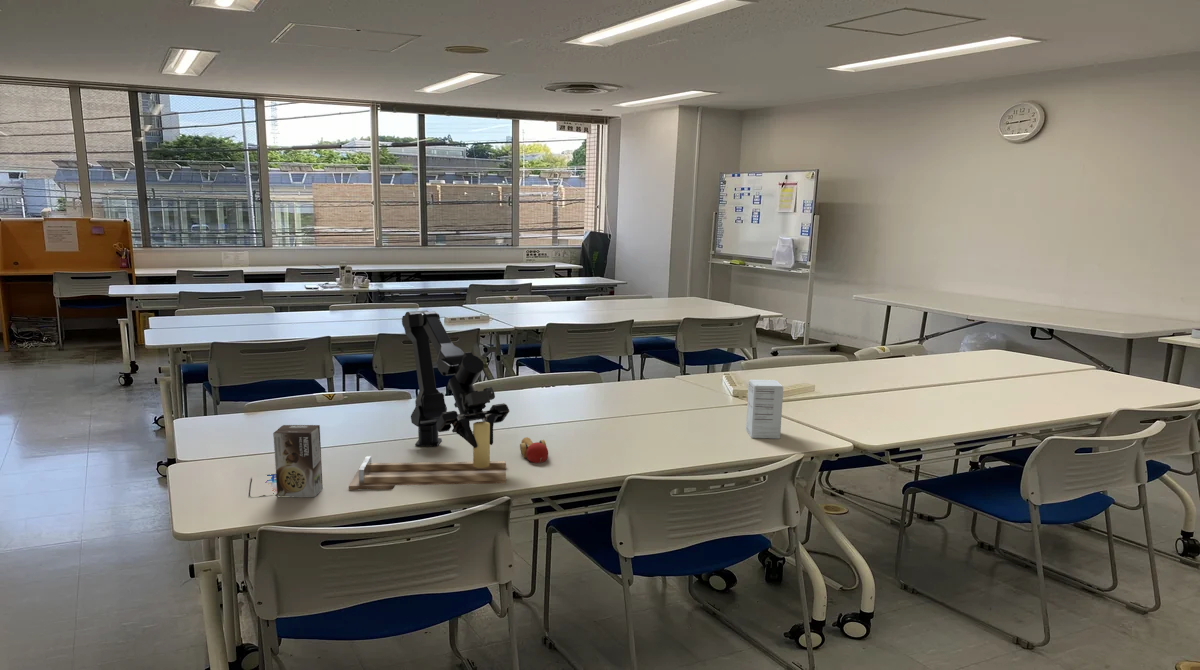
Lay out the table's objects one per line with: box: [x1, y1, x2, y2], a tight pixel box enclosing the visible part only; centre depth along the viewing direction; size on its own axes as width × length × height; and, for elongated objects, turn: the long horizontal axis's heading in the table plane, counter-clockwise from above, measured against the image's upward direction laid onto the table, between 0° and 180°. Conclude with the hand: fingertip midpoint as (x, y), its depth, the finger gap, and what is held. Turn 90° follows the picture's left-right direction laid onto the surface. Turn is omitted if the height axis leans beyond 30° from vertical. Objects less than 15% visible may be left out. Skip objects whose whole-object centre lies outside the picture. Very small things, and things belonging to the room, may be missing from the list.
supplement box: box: [745, 379, 784, 440], centre depth 237 cm, size 10×9×17 cm
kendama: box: [519, 437, 549, 464], centre depth 212 cm, size 8×6×18 cm
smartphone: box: [265, 473, 277, 494], centre depth 185 cm, size 8×1×15 cm
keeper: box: [472, 421, 491, 468], centre depth 193 cm, size 4×4×11 cm
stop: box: [358, 455, 372, 483], centre depth 191 cm, size 1×10×4 cm, turn 7°
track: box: [348, 460, 507, 491], centre depth 193 cm, size 38×14×2 cm, turn 97°
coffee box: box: [272, 424, 324, 498], centre depth 180 cm, size 9×6×16 cm
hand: (484, 445), depth 192 cm, fingers closed on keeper, 4 cm apart
